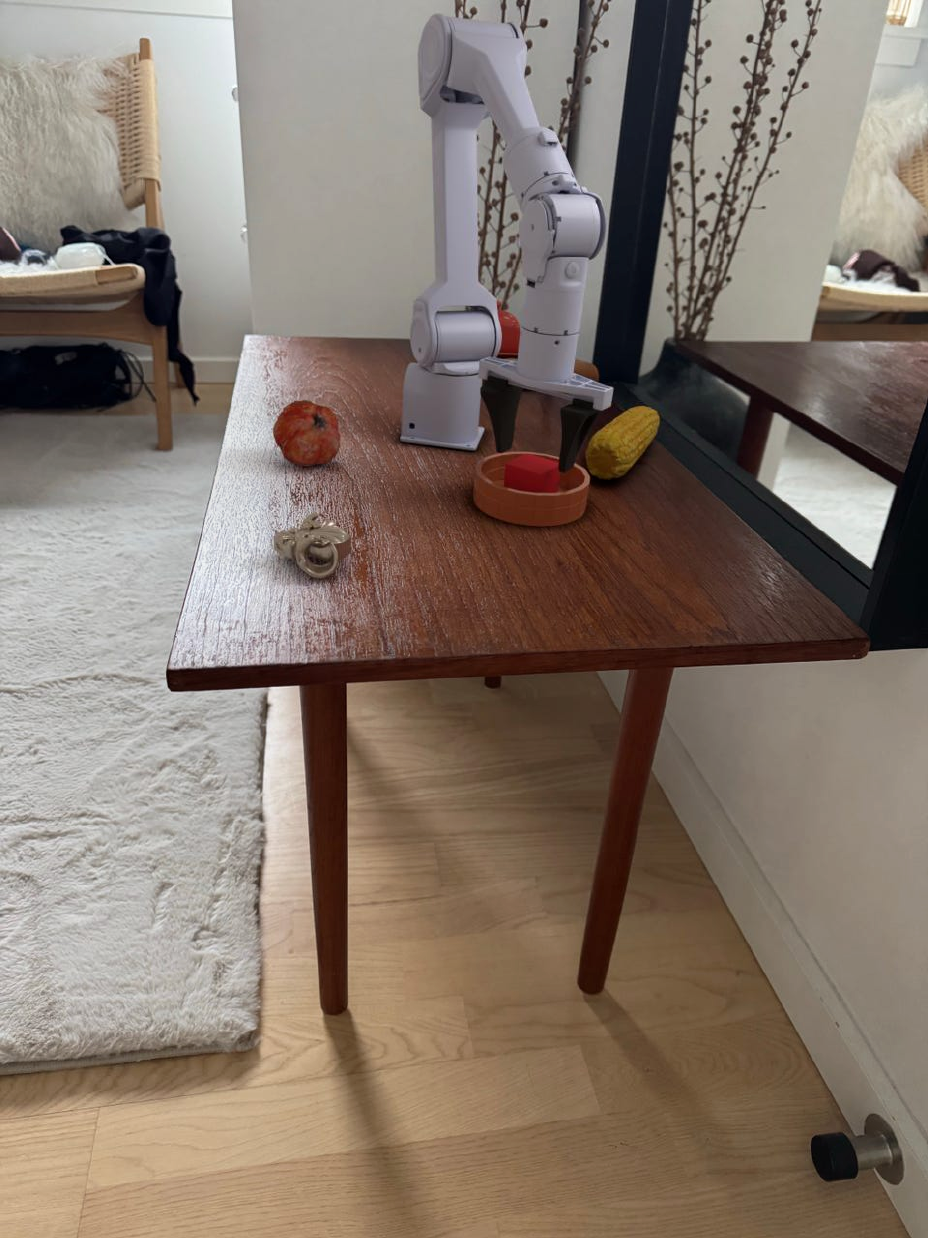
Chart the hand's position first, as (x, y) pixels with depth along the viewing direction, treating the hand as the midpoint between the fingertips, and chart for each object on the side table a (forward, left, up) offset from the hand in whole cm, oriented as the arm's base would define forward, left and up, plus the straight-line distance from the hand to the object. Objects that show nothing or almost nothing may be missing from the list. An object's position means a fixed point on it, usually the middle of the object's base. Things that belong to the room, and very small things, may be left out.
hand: (534, 459), depth 94 cm
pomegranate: (-26, +3, -5) cm, 27 cm away
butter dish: (-13, +61, -5) cm, 63 cm away
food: (+10, +17, -5) cm, 20 cm away
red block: (0, 0, -4) cm, 4 cm away
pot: (0, 0, -5) cm, 5 cm away
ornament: (-18, -20, -5) cm, 27 cm away
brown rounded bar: (-4, +45, -5) cm, 45 cm away
